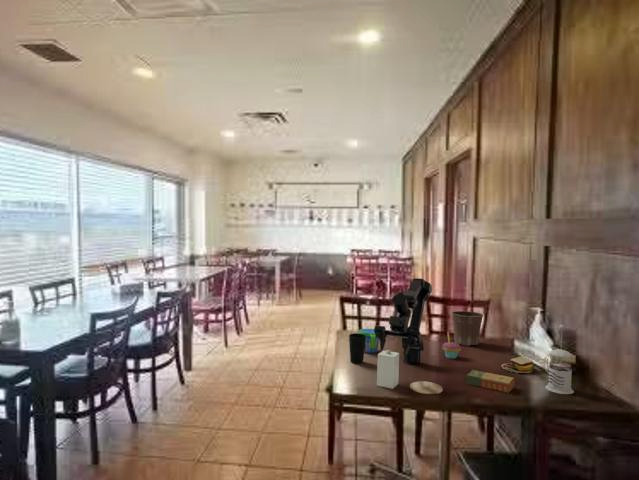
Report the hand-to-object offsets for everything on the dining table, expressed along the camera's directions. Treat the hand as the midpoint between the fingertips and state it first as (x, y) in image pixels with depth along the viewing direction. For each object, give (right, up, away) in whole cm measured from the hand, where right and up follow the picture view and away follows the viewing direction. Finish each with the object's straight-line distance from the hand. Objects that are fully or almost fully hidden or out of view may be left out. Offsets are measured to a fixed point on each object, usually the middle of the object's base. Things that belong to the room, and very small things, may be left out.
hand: (392, 352), depth 176 cm
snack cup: (-4, -10, +43) cm, 45 cm away
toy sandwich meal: (+58, -13, +20) cm, 63 cm away
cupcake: (+34, -12, +37) cm, 52 cm away
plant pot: (+50, -11, +64) cm, 82 cm away
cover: (-2, -11, -4) cm, 12 cm away
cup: (-12, -11, +25) cm, 30 cm away
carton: (+38, -13, -1) cm, 40 cm away
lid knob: (+12, -11, -7) cm, 17 cm away
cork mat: (+12, -12, -7) cm, 18 cm away
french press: (+63, -13, -3) cm, 65 cm away
